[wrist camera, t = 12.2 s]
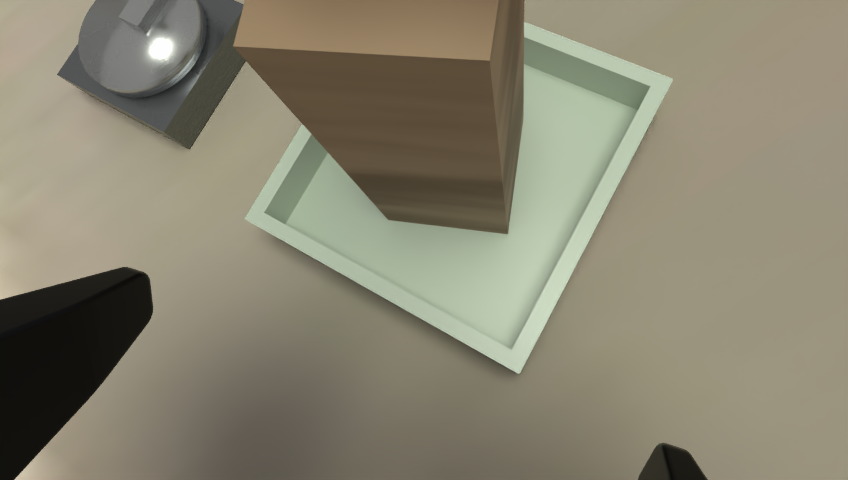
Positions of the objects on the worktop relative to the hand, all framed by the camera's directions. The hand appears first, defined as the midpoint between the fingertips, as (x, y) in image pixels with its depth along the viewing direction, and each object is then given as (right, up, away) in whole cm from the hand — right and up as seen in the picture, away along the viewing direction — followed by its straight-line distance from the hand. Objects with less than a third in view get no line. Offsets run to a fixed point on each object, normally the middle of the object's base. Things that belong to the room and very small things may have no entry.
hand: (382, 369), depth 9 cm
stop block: (+2, +5, +14) cm, 15 cm away
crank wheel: (-12, +12, +17) cm, 24 cm away
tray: (+2, +5, +15) cm, 16 cm away
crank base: (-12, +11, +19) cm, 25 cm away
